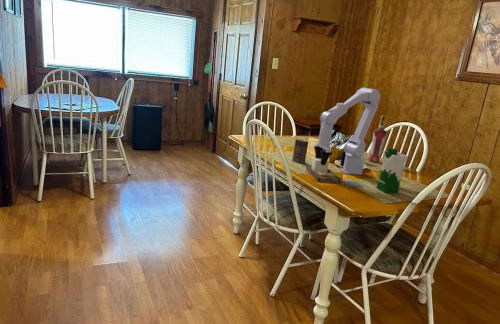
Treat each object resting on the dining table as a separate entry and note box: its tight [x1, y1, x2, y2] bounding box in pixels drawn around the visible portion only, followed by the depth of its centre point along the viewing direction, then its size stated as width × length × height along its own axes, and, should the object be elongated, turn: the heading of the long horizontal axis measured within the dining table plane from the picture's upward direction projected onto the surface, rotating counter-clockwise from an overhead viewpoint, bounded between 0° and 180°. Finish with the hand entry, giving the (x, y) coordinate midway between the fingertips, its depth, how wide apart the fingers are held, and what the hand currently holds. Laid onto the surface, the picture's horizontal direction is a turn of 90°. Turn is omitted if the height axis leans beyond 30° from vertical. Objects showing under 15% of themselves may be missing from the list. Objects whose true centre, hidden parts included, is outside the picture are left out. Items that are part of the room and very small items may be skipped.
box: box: [292, 138, 309, 164], centre depth 199 cm, size 6×4×12 cm
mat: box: [340, 180, 364, 188], centre depth 172 cm, size 8×7×1 cm
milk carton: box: [375, 147, 409, 194], centre depth 167 cm, size 9×9×20 cm
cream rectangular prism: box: [311, 157, 330, 174], centre depth 184 cm, size 7×4×7 cm, turn 100°
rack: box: [305, 165, 342, 184], centre depth 180 cm, size 11×18×2 cm, turn 10°
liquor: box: [368, 115, 387, 163], centre depth 219 cm, size 7×7×28 cm
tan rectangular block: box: [317, 172, 337, 178], centre depth 175 cm, size 8×4×3 cm, turn 101°
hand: (320, 162), depth 183 cm, fingers open, 7 cm apart
